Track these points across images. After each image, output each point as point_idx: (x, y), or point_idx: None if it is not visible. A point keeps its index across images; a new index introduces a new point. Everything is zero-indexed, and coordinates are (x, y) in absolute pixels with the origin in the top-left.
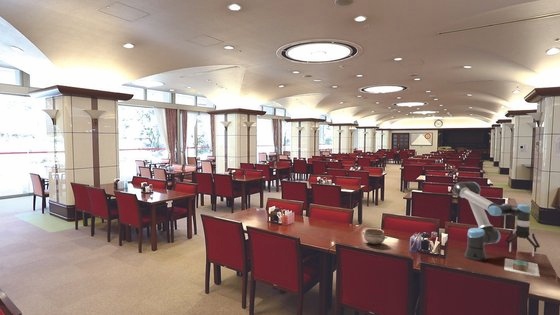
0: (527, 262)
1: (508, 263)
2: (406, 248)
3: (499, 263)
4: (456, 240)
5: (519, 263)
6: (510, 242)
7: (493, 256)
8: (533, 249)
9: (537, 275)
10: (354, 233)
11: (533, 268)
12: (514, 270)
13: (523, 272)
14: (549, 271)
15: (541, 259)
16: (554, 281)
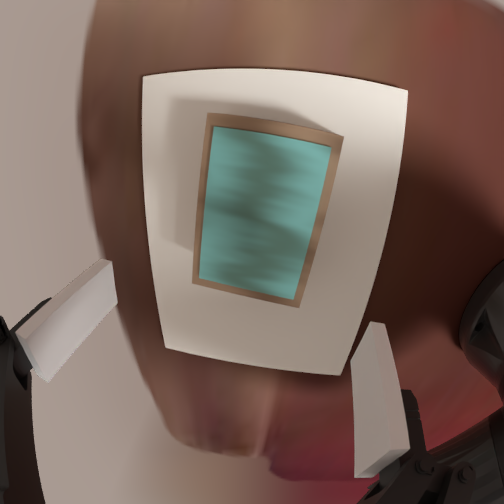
0: (199, 266)
1: (347, 280)
2: None
3: (409, 266)
4: None
5: (274, 174)
6: (368, 475)
7: None
8: (39, 315)
9: (155, 82)
10: None
11: (176, 249)
12: (325, 97)
13: (252, 84)
14: (106, 259)
15: (166, 409)
16: (84, 69)
